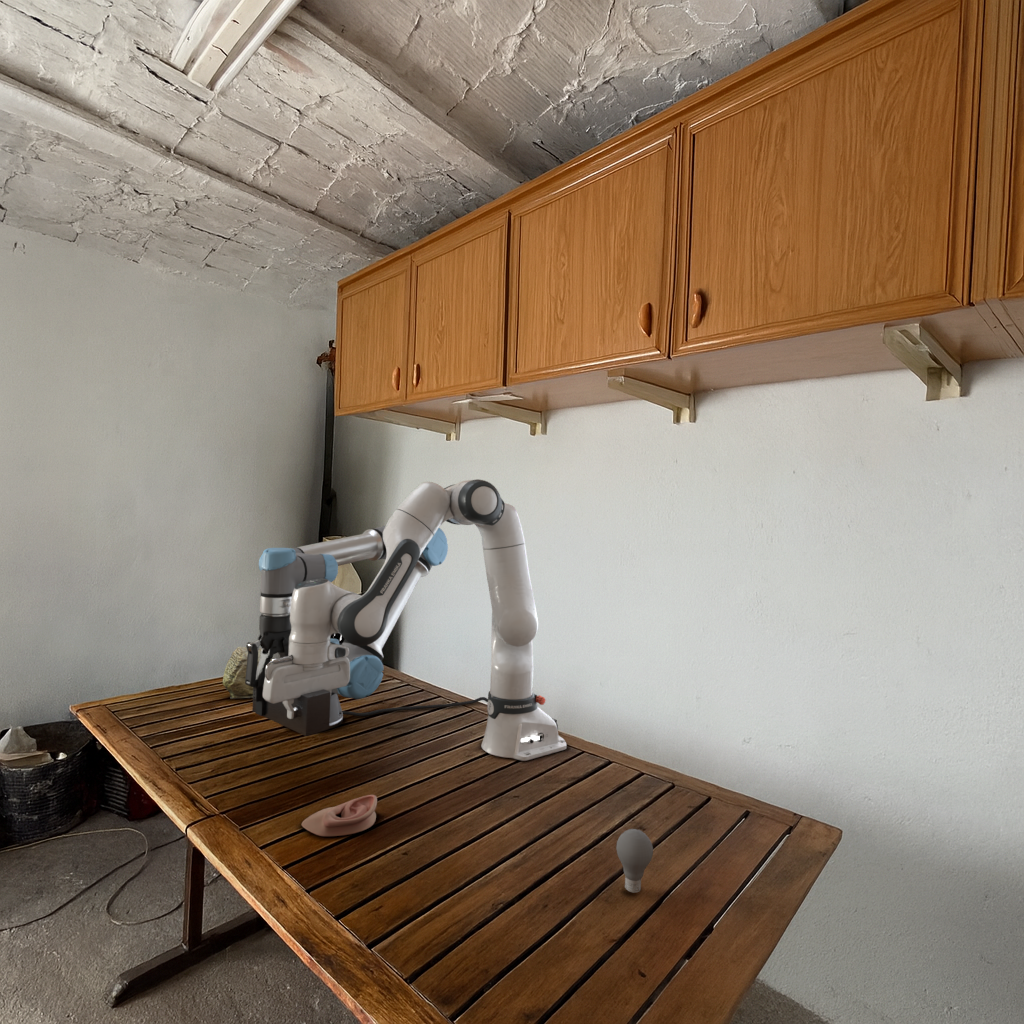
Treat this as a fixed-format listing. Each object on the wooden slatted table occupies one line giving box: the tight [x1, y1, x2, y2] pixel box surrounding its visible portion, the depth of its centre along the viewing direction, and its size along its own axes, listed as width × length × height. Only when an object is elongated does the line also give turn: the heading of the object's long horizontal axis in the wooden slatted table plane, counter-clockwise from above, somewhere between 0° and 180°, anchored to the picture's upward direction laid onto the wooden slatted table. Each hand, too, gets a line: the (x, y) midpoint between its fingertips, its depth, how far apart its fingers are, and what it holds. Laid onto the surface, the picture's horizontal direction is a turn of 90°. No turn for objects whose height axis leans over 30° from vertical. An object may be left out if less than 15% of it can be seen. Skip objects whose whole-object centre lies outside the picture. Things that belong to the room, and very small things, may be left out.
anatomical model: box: [301, 794, 378, 837], centre depth 123 cm, size 13×4×12 cm
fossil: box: [222, 646, 273, 699], centre depth 198 cm, size 9×18×15 cm, turn 132°
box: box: [251, 679, 331, 737], centre depth 145 cm, size 22×6×8 cm, turn 51°
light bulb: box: [615, 828, 654, 894], centre depth 106 cm, size 6×6×10 cm
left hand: (273, 710), depth 150 cm, fingers closed on box, 6 cm apart
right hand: (307, 713), depth 141 cm, fingers closed on box, 6 cm apart
